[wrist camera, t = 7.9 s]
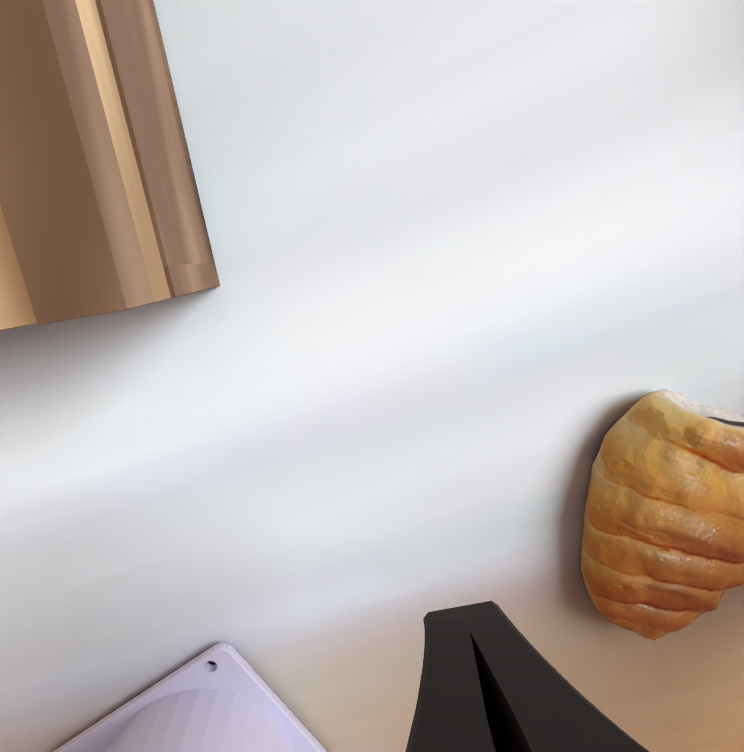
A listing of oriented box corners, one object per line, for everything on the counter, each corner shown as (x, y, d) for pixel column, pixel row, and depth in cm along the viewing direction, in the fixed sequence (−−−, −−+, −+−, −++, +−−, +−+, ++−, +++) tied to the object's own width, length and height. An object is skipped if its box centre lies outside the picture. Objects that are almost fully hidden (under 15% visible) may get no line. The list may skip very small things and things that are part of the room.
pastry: (685, 622, 23) (750, 693, 19) (534, 590, 22) (572, 657, 19) (773, 414, 21) (865, 449, 17) (612, 373, 20) (671, 399, 17)
